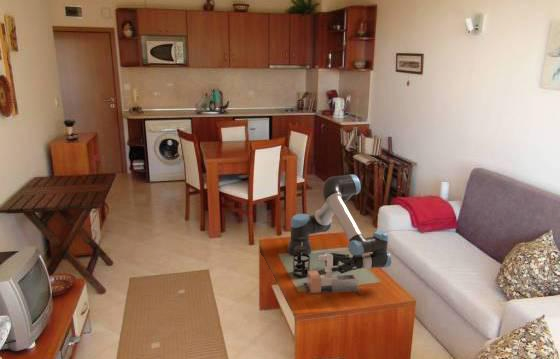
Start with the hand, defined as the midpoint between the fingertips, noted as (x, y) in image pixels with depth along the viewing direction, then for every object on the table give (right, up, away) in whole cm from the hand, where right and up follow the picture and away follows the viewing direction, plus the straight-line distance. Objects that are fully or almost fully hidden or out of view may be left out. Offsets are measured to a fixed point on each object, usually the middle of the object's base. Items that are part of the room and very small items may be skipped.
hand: (321, 263), depth 231 cm
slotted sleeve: (+5, -14, +4) cm, 16 cm away
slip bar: (+2, -11, +3) cm, 12 cm away
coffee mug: (+8, -9, +26) cm, 29 cm away
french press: (-10, -11, +19) cm, 24 cm away
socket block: (-4, -13, +3) cm, 14 cm away
